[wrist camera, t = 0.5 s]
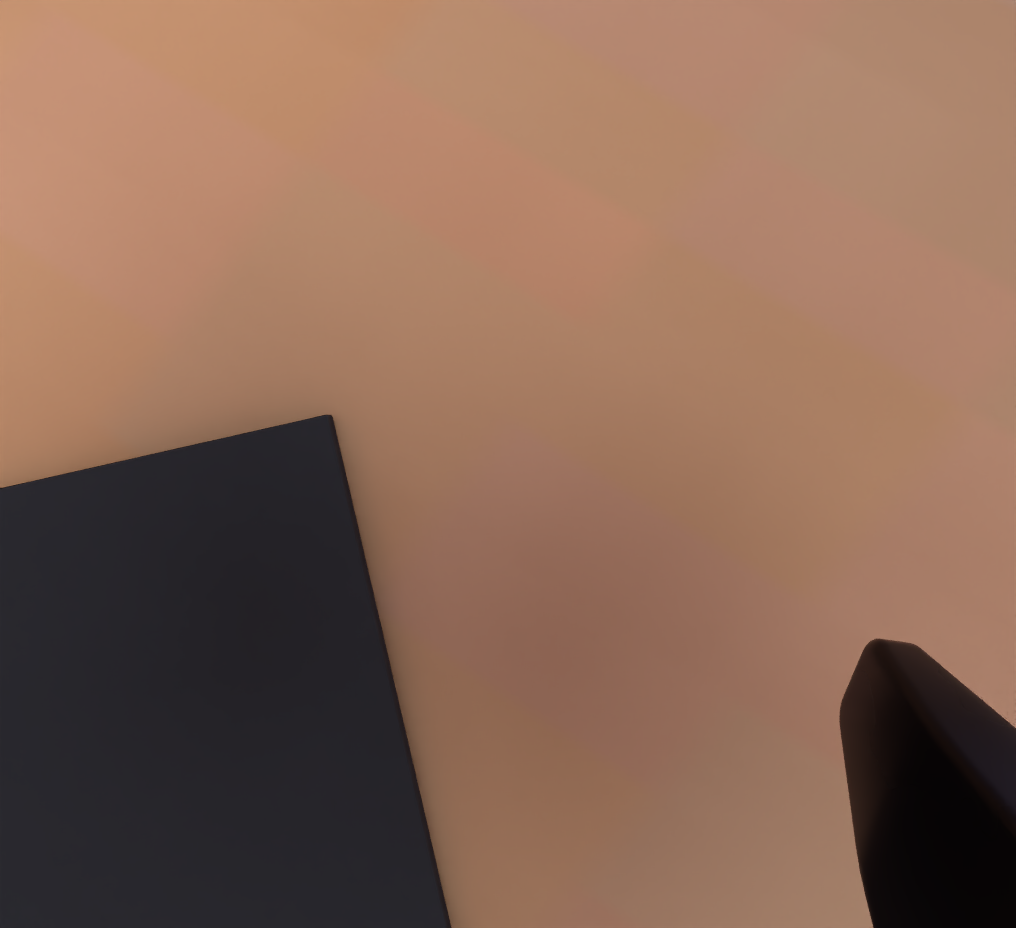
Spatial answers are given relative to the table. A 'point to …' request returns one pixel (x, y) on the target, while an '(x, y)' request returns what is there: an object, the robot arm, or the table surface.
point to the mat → (202, 700)
